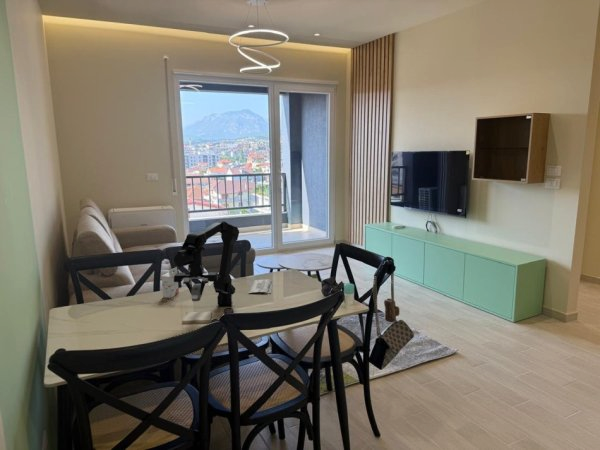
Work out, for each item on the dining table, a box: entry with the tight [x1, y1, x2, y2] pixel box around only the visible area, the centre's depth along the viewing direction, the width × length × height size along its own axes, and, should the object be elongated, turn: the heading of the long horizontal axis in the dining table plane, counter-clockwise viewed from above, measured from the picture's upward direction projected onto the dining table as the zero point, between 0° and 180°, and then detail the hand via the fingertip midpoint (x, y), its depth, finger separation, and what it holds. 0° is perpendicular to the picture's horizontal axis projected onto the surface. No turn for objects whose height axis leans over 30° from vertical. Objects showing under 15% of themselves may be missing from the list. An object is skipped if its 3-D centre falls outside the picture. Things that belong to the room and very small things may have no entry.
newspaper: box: [247, 278, 273, 295], centre depth 234 cm, size 23×12×2 cm, turn 178°
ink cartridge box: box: [161, 266, 179, 299], centre depth 219 cm, size 9×5×15 cm, turn 168°
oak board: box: [181, 311, 213, 324], centre depth 189 cm, size 12×10×1 cm
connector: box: [190, 283, 203, 302], centre depth 186 cm, size 4×12×5 cm, turn 5°
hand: (196, 295), depth 187 cm, fingers closed on connector, 4 cm apart
